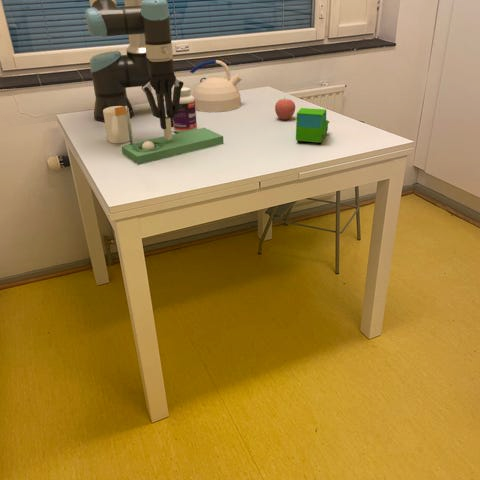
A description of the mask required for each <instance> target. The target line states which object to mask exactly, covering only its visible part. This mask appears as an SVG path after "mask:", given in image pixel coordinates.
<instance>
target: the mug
mask: <svg viewBox="0 0 480 480" xmlns="http://www.w3.org/2000/svg"><path fill="white" fill-rule="evenodd" d="M117 107H123V106H113V107H108V108H105V109H104V110H103V114H104V120H105V122H104V126H105V131H106V138H107V142H109V143H112V144H125V143H128V142H130V139H129V132H128V126H127V119H126V115H121V116H116V115H115V109H114V108H117ZM128 114H129V108H128ZM129 121H130V128H131V135H132V140H134V139H133V138H134V137H133V129H132V124H131V123H132V122H131V118H130V115H129Z"/></svg>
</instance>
